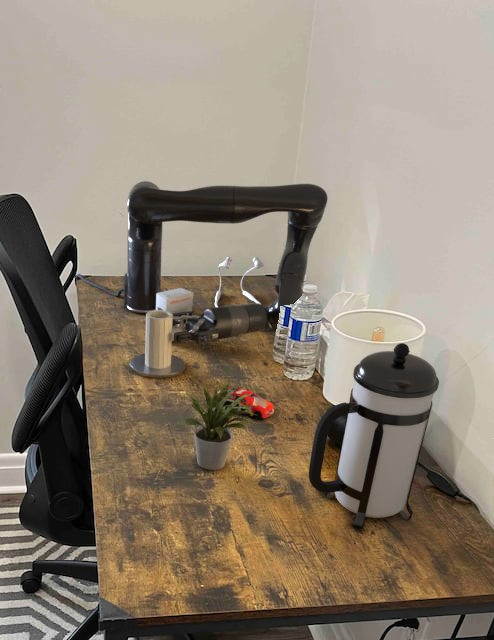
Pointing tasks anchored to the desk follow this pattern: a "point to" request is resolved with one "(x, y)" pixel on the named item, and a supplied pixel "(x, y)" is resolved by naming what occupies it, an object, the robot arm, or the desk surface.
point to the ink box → (175, 303)
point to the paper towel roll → (158, 339)
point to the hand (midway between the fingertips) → (165, 331)
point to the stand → (142, 369)
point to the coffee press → (378, 434)
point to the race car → (250, 403)
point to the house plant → (215, 427)
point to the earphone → (227, 265)
